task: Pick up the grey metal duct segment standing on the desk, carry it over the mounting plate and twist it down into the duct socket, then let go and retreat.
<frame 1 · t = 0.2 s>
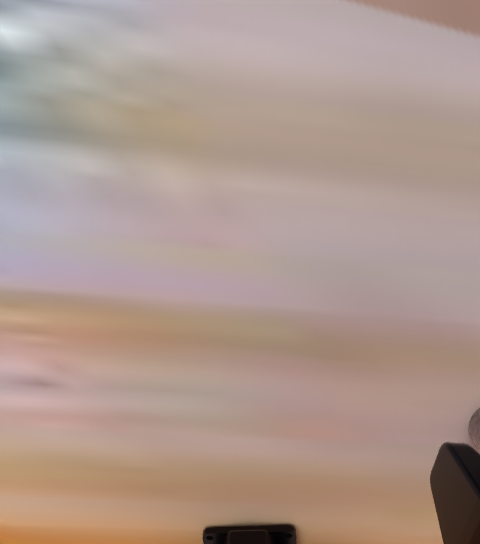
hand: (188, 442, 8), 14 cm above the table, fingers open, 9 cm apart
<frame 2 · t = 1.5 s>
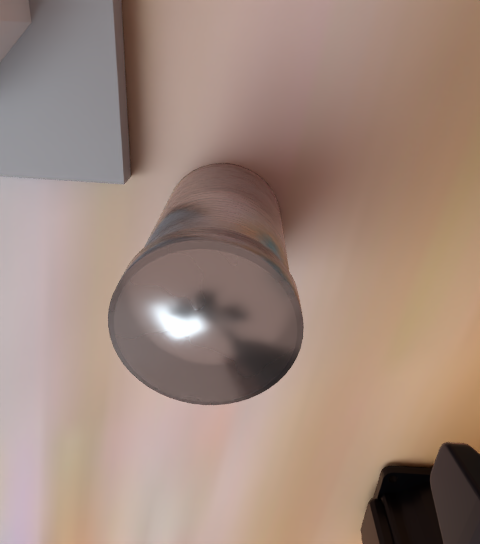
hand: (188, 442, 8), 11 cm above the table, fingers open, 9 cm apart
duct segment: (223, 220, 18), on the table
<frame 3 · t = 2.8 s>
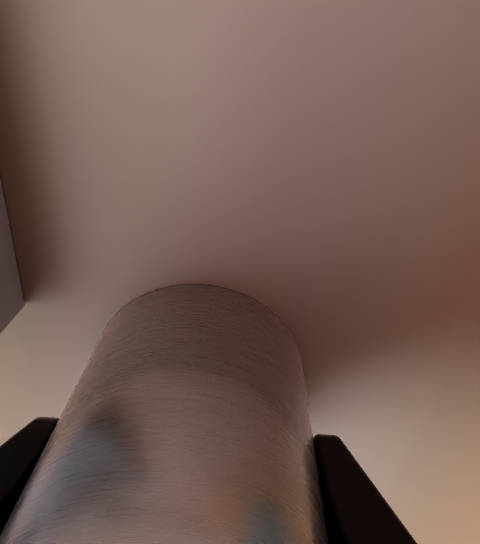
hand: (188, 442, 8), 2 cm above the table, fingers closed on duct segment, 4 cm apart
duct segment: (199, 374, 10), on the table, touching gripper
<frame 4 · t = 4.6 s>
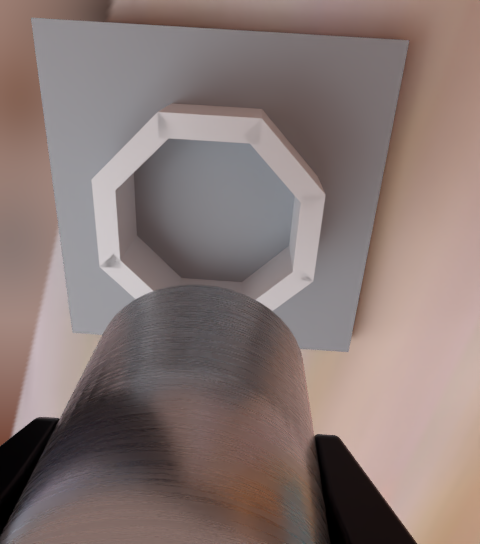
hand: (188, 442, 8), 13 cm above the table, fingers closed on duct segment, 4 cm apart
duct segment: (200, 374, 10), point 11 cm above the table, touching gripper
duct socket: (215, 202, 19), on the table
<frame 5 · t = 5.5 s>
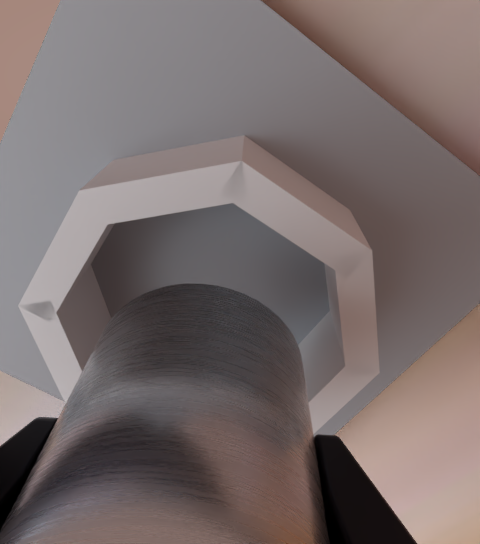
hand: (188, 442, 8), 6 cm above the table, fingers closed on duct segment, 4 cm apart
duct segment: (199, 373, 10), point 5 cm above the table, touching gripper
duct socket: (215, 271, 14), on the table
when the fingers open (4 cm above the table, at t = 6.2 s): duct segment drops 1 cm, resting on duct socket.
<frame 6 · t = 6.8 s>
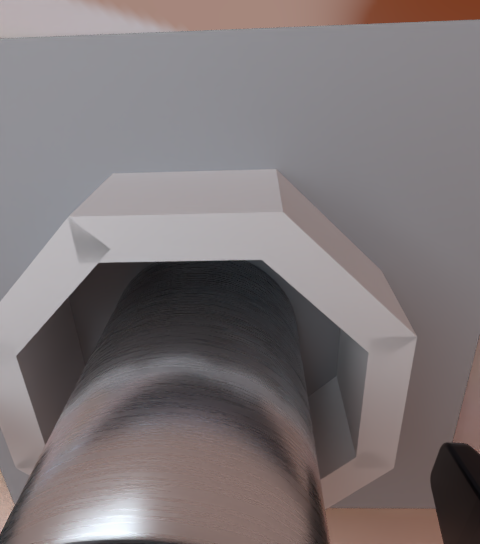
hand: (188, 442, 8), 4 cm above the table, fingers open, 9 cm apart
duct segment: (205, 333, 11), point 1 cm above the table, touching duct socket
duct socket: (210, 311, 12), on the table
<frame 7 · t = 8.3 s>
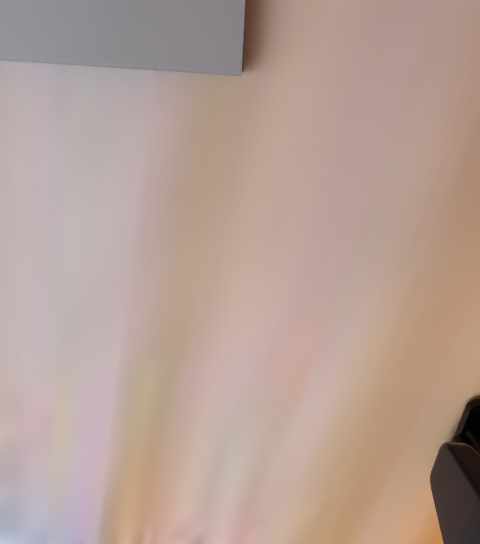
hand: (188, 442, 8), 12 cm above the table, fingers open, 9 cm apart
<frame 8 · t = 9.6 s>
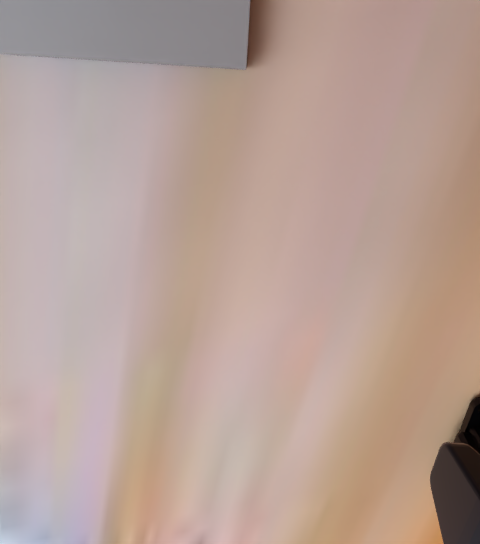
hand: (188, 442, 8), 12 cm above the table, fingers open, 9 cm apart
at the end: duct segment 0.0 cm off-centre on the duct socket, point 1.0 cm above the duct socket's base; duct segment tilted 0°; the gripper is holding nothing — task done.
